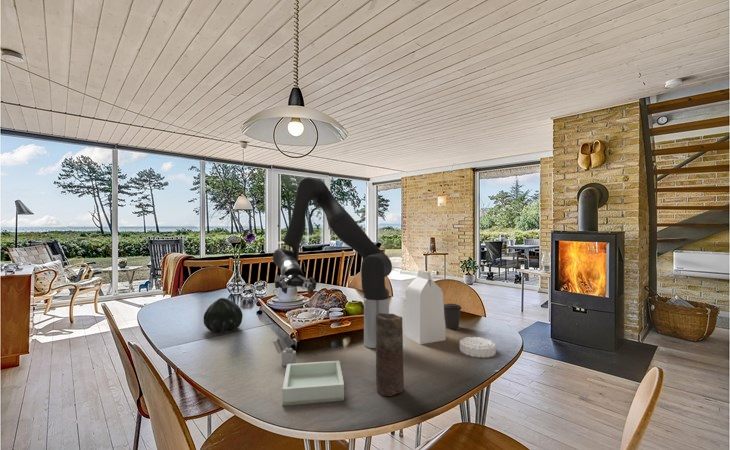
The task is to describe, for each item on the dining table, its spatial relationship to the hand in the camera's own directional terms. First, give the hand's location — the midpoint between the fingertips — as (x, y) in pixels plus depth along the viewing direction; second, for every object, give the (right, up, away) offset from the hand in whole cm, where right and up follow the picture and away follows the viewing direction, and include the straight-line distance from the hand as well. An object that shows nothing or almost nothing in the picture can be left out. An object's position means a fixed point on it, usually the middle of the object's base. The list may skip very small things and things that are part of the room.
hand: (298, 291), depth 112 cm
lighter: (-3, -22, -8) cm, 23 cm away
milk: (+46, -22, +18) cm, 54 cm away
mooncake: (+62, -22, +4) cm, 66 cm away
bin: (+9, -21, -23) cm, 33 cm away
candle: (+29, -22, -24) cm, 43 cm away
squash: (-37, -22, +27) cm, 50 cm away
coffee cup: (+60, -22, +31) cm, 71 cm away
